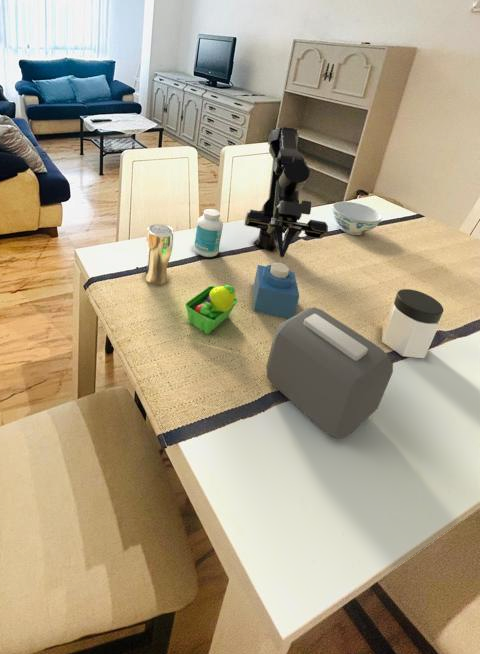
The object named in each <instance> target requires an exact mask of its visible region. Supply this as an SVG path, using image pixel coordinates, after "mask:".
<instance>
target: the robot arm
mask: <svg viewBox="0 0 480 654" xmlns="http://www.w3.org/2000/svg"><path fill="white" fill-rule="evenodd" d="M299 136H300V134H299V132H298V129H297V128H296V127H291V126H283V125H282V126H279V127H278V128H275V129H273V130H271V131H270V132H269V135H268V140H267V145H269V148H268V152H269V154H270V156H271V157H272V165H271V173H270V182H269V190H268V198H267V199H266V201H265V202H264V204H263V205H262V207H261V210H255V209H249V210H247V212H246V215H245V218H244V226H246V227H250V228H255V229H259V233H258V237H257V239H255V241H253V242H252V243H253V245H254V246H256V247H259V248H262V249H263V250H266V251H269V252H274V251H276V250H277V253H278V257H279V258H282V259H283V258H284V257H285V255H286V253H287V251H288V248H289V246H290V244H291V242H292V241H293V239H295V238H298V237H299V236H300V235H301V233H302V232H304V235H305V236H306V237H307V238H311V239H318V240H320V239H323V238H324V237H325V236H326V235H327V234H328V233H329V226H328V224H327V222H326V221H323V220H322V221H321V220H316V219H309V221H308V222H307V223H305V222H301V221H300V219H301V218H302V215H307V216H309V215H311V212H312V201H311V200H310V201H309V200H301V202H300V190H302V189H303V187H304V185H305V183H306V182H307V180H308V179H309V177H310V172H311V170H310V167H309V166H308V164H307V163H308V162H307V161H306V160H305V156H304V154H303V152H301V151H299V150H298V143H299ZM283 234H284V236H283Z"/></svg>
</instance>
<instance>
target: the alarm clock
mask: <svg viewBox="0 0 480 654" xmlns="http://www.w3.org/2000/svg"><path fill="white" fill-rule="evenodd" d="M265 369H266V377H267V379H268V381H269V382H270V383H271V384H272V385H273V386H274V387H275V388H276V389H277V390H278V391H279V392H280V393H281V394H282V395H283V396H285V398H287V399H288V400H289V401H290V402H292V403H293V404H294V405H295V406H296V407H297V408H298V409H299V410H300V411H301V412H303V413H304V414H305V415H306V416H307V417H308V418H309V419H310V420H311V421H313V423H315V424H316V425H317V426H318V427H319V428H320V429H321V430H323V432H325V433H327V434H328V435H330V436H331V437H333V438H338V439H344V438H347V437H349V436H350V435H351V434H352V433H353V432H354V431H355V430H357V429H358V428H359V427H360V426H361V425H362V424H363V423H364V422H365V421H366V420H367V419H368V418H369V417H370V416H372V415H373V414H374V413H375V412H376V411H377V410H378V409H379V406H380V404H381V402H382V399H383V397H384V395H385V392H386V389H387V387H388V385H389V382H390V380H391V377H392V375H393V371H394V363H393V362H392V359H391V357H390V355H389V354H388V353H386V352H385V351H384V350H383V349H382V347H380V346H378V345H377V344H375V343H374V342H372V341H371V340H369V339H367V338H366V337H365V336H363V335H361V334H360V333H358V332H357V331H355V330H354V329H352V328H351V327H349V326H347V325H346V324H344V323H343V322H341V321H339V320H338V319H337V318H335V317H334V316H333V315H330V314H329V313H327V312H326V311H324V310H322V309H320V308H317V307H315V306H312V307H308V308H306V309H304V310H303V311H300V312H299V313H297V314H294V316H293V317H291V318H290V319H286V320H284V321H282V322H281V323H280V324H279V325H278V326H277V328H276V329H275V331H274V335H273V338H272V342H271V346H270V350H269V354H268V358H267V363H266V366H265Z"/></svg>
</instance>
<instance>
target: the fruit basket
mask: <svg viewBox="0 0 480 654" xmlns="http://www.w3.org/2000/svg"><path fill="white" fill-rule="evenodd" d="M237 303H238V299H237V298H236V288H234V286H233V285H230V284H225V285H218V286H214V285H209V286H208V287H206V288H205V289H204V290H203V291H201V292H200V293H198V294H197V295H195V296H194V297H192V298H191V299H190V300H189V301H187V302H185V309H186V311H187V316H188V322H189V324H191V325H193V326H194V327H195V328H197V329H198V330H200V331H201V332H204V333H205V334H206V335H209V334H210V333H212V331H213V330H215V329H216V328H218V326H219V325H221V324H222V322H224V320H226V319H227V318H228V317H229V316H230V314H231V313H232V310H234V308H235V306H236V305H237Z"/></svg>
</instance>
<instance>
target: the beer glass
mask: <svg viewBox="0 0 480 654" xmlns="http://www.w3.org/2000/svg"><path fill="white" fill-rule="evenodd" d="M173 247H174V229H173V228H172V227H171V226H169V225H167V224H164V223H163V224H162V223H154V224H151V225H149V227H148V228H147V234H146V240H145V254H146V263H147V264H146V265H147V266H146V271H145V274H144V280H145V281H146V282H148V284H150V285H153V286H162V285H165V284H166V283H167V282H168V265H169V262H170V260H171V259H170V258H171V256H172V253H173Z"/></svg>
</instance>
